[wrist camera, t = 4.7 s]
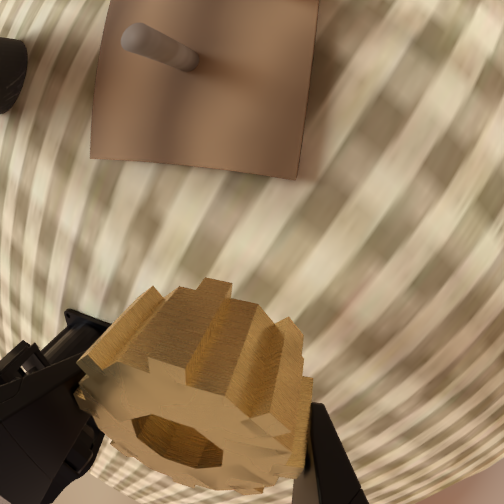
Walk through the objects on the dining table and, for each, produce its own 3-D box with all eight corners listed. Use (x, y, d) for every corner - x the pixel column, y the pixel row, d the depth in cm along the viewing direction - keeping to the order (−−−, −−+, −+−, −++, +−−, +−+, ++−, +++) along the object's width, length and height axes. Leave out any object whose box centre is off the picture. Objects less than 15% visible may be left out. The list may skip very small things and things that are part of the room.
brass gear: (138, 394, 12) (102, 451, 8) (118, 257, 9) (44, 313, 6) (289, 435, 11) (276, 506, 8) (338, 304, 8) (343, 401, 5)
